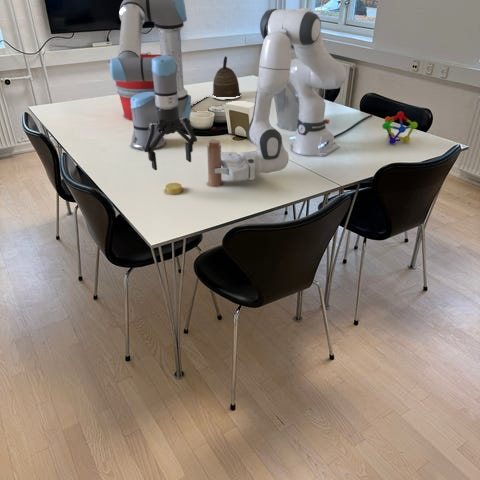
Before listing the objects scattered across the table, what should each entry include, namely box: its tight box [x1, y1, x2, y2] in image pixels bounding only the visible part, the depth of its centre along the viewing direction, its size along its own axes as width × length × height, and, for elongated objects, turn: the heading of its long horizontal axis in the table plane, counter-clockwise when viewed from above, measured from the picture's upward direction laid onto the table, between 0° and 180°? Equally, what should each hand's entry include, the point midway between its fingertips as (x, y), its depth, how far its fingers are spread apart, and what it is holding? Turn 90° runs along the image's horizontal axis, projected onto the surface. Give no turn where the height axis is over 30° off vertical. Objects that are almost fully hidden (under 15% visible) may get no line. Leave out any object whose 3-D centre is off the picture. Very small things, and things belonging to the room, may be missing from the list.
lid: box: [165, 182, 183, 195], centre depth 165 cm, size 6×6×2 cm
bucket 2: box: [273, 81, 326, 131], centre depth 226 cm, size 30×30×28 cm
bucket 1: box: [106, 51, 161, 121], centre depth 240 cm, size 35×35×30 cm
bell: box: [212, 56, 242, 97], centre depth 278 cm, size 19×26×20 cm
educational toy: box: [382, 110, 418, 145], centre depth 207 cm, size 16×13×15 cm
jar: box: [206, 138, 223, 187], centre depth 166 cm, size 5×5×17 cm
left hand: (172, 164), depth 160 cm, fingers open, 13 cm apart
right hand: (212, 167), depth 167 cm, fingers closed on jar, 5 cm apart
